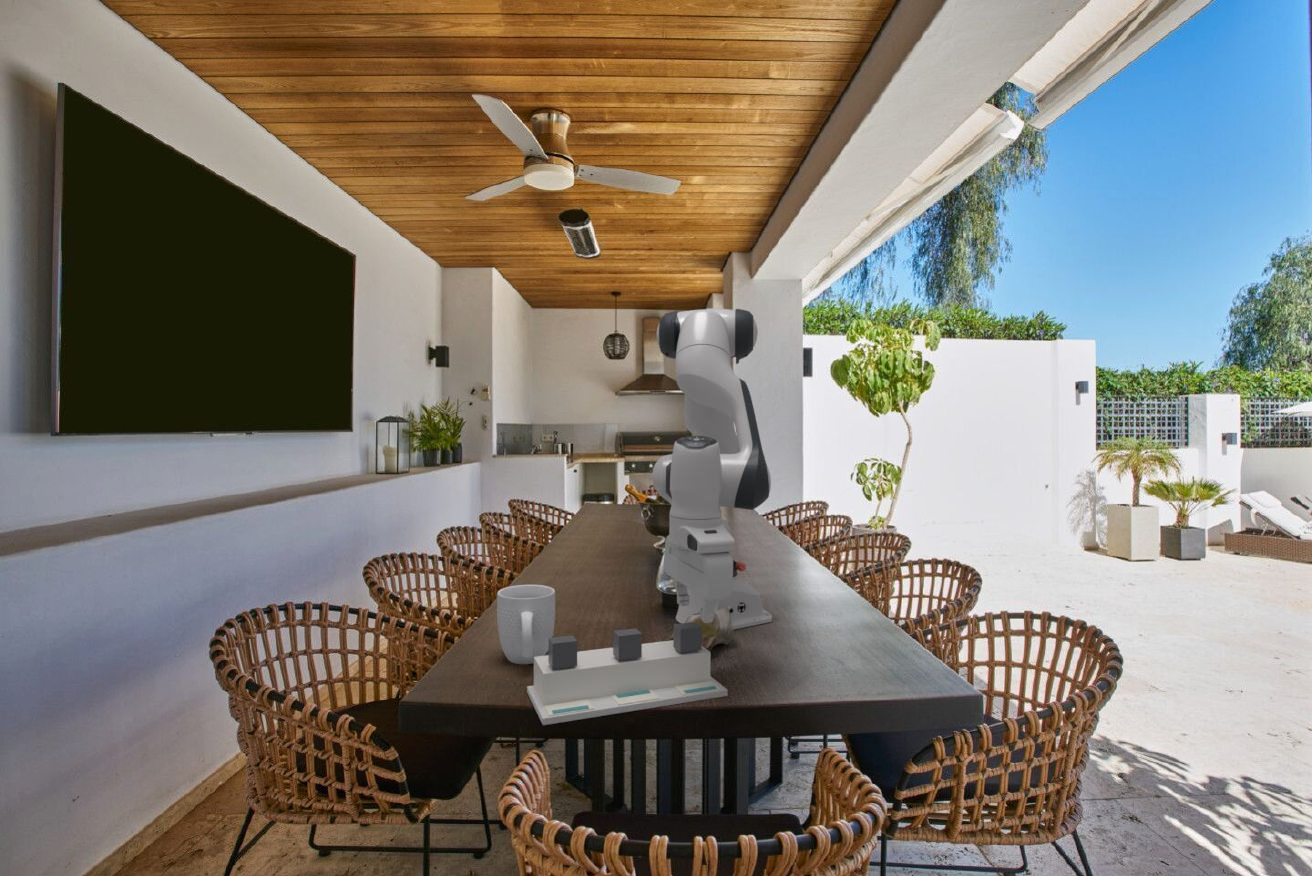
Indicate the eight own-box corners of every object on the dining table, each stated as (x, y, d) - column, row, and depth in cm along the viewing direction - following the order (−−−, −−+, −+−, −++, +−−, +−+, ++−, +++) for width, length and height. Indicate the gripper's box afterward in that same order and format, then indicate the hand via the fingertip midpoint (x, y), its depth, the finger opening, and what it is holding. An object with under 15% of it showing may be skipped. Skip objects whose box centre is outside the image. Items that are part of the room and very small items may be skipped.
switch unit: (694, 668, 120) (695, 636, 120) (727, 695, 108) (727, 659, 108) (527, 692, 109) (527, 656, 109) (542, 725, 97) (543, 684, 97)
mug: (558, 674, 117) (559, 602, 117) (495, 679, 115) (496, 605, 114) (552, 647, 132) (553, 583, 131) (496, 651, 129) (497, 585, 129)
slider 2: (694, 644, 115) (694, 622, 115) (701, 650, 112) (701, 626, 112) (673, 647, 113) (673, 624, 113) (680, 652, 110) (680, 629, 110)
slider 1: (572, 659, 107) (572, 635, 107) (577, 665, 104) (577, 641, 104) (548, 662, 105) (548, 638, 105) (552, 669, 102) (552, 643, 102)
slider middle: (635, 651, 111) (635, 628, 111) (641, 657, 108) (641, 633, 108) (613, 654, 109) (613, 630, 109) (618, 660, 107) (618, 636, 106)
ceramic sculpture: (746, 604, 133) (695, 623, 123) (748, 646, 133) (697, 668, 123) (708, 594, 141) (657, 611, 131) (710, 634, 141) (659, 654, 131)
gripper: (655, 523, 118) (654, 598, 119) (704, 545, 99) (703, 634, 100) (687, 521, 121) (686, 594, 121) (740, 542, 102) (739, 629, 102)
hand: (694, 613), depth 111 cm, fingers open, 8 cm apart
